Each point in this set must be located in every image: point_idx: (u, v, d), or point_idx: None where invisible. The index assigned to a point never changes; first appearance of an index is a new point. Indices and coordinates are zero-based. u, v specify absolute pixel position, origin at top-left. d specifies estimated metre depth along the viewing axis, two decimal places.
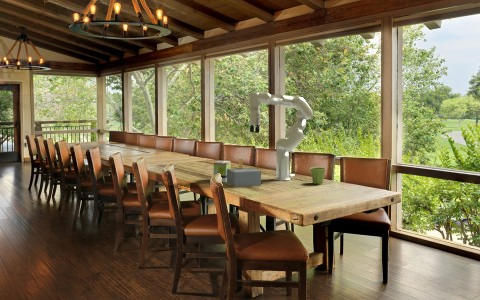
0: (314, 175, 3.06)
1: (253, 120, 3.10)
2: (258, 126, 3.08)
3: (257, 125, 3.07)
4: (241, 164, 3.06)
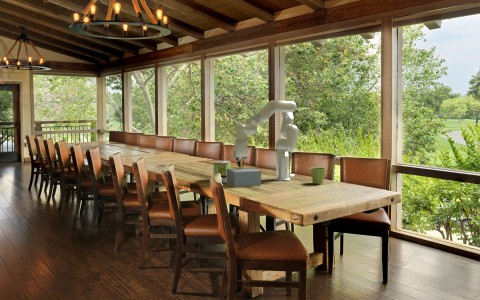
0: (314, 175, 3.06)
1: (245, 152, 3.05)
2: None
3: None
4: (241, 164, 3.06)
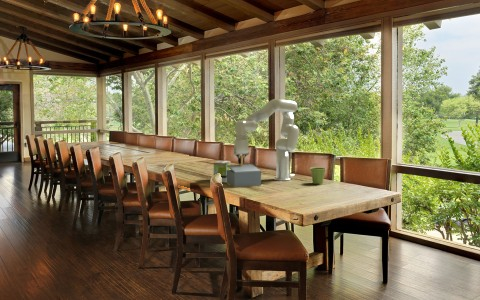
0: (314, 175, 3.06)
1: (246, 149, 3.04)
2: (244, 156, 3.07)
3: (245, 155, 3.06)
4: (241, 161, 3.05)
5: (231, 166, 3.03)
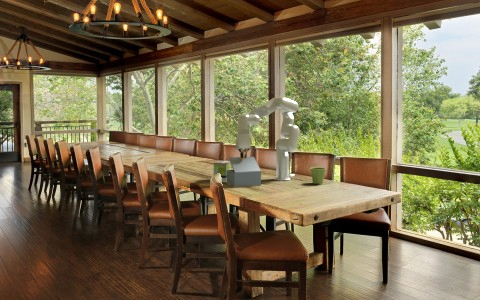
0: (314, 175, 3.06)
1: (248, 143, 3.00)
2: None
3: None
4: (243, 156, 3.01)
5: (232, 160, 3.00)
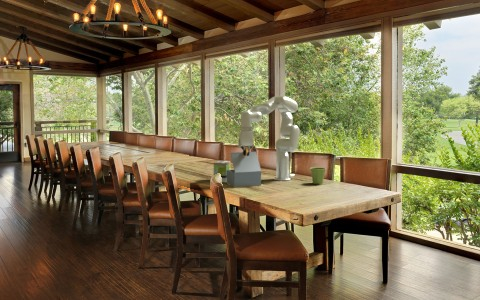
0: (314, 175, 3.06)
1: (251, 141, 2.95)
2: (249, 148, 2.98)
3: (250, 147, 2.97)
4: None
5: (234, 156, 2.97)
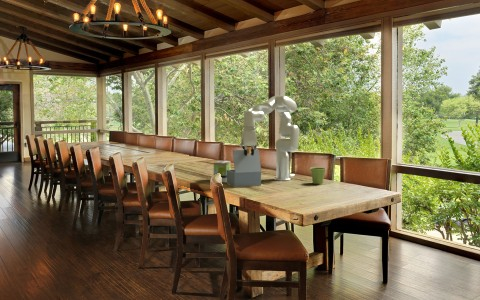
0: (314, 175, 3.06)
1: (254, 140, 2.90)
2: (254, 148, 2.93)
3: (255, 147, 2.93)
4: (248, 153, 2.93)
5: (236, 155, 2.93)
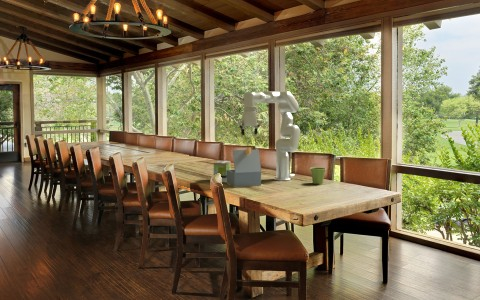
0: (314, 175, 3.06)
1: (254, 121, 2.93)
2: (257, 127, 2.97)
3: (259, 126, 2.96)
4: (248, 153, 2.93)
5: (236, 155, 2.93)
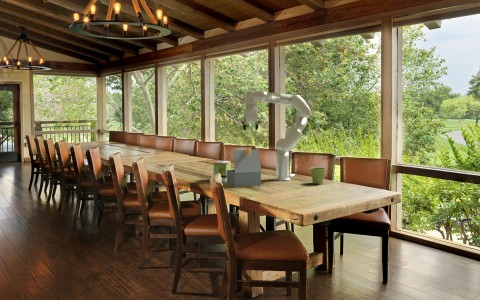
0: (314, 175, 3.06)
1: (255, 118, 3.17)
2: None
3: (259, 122, 3.20)
4: (248, 153, 2.93)
5: (236, 155, 2.93)
